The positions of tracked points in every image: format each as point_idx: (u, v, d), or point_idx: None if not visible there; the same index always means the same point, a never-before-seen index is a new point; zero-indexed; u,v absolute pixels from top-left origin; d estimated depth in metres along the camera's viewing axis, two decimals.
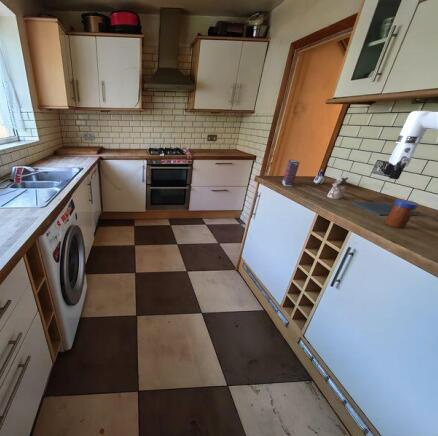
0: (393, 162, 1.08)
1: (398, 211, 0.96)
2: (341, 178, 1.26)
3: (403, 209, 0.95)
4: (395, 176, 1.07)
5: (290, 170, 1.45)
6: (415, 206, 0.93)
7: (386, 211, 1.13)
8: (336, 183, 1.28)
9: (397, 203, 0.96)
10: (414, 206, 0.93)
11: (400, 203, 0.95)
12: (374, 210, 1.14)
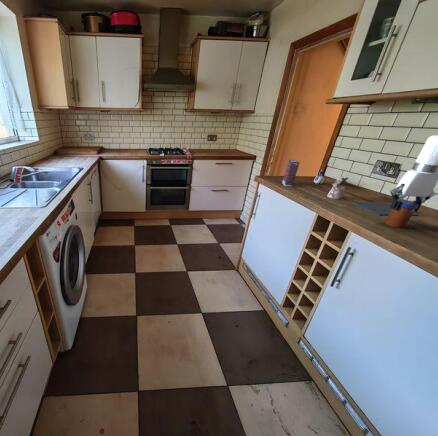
0: (423, 194, 0.92)
1: (398, 211, 0.96)
2: (341, 178, 1.26)
3: (403, 209, 0.95)
4: None
5: (290, 170, 1.45)
6: (415, 206, 0.93)
7: (386, 211, 1.13)
8: (336, 183, 1.28)
9: None
10: (414, 206, 0.93)
11: None
12: (374, 210, 1.14)
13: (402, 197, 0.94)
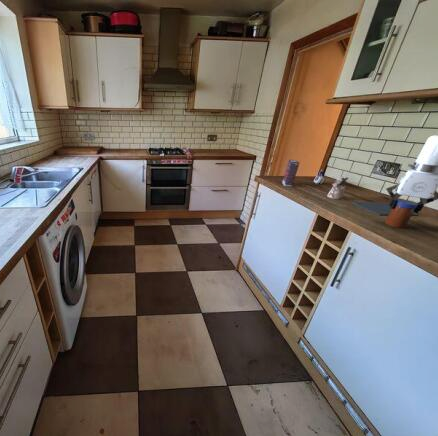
0: None
1: (398, 211, 0.96)
2: (341, 178, 1.26)
3: (403, 209, 0.95)
4: (389, 204, 0.99)
5: (290, 170, 1.45)
6: None
7: (386, 211, 1.13)
8: (336, 183, 1.28)
9: None
10: None
11: None
12: (374, 210, 1.14)
13: None
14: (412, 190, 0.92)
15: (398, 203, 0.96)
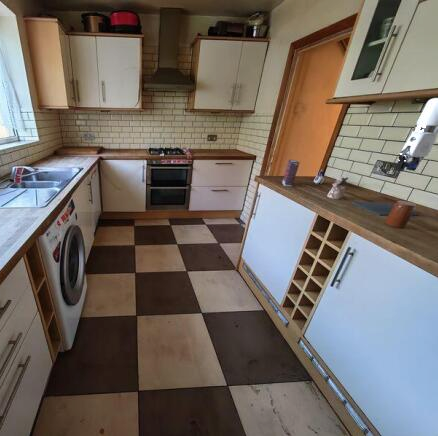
0: None
1: (398, 211, 0.96)
2: (341, 178, 1.26)
3: (403, 209, 0.95)
4: (398, 167, 1.05)
5: (290, 170, 1.45)
6: None
7: (386, 211, 1.13)
8: (336, 183, 1.28)
9: None
10: None
11: None
12: (374, 210, 1.14)
13: None
14: (421, 151, 1.00)
15: (408, 165, 1.03)
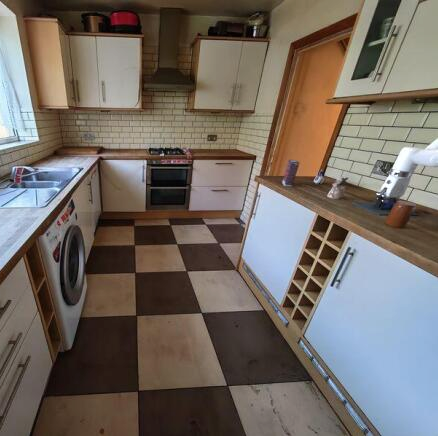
0: None
1: (398, 211, 0.96)
2: (341, 178, 1.26)
3: (403, 209, 0.95)
4: (377, 206, 1.15)
5: (290, 170, 1.45)
6: None
7: (386, 211, 1.13)
8: (336, 183, 1.28)
9: None
10: None
11: None
12: (374, 210, 1.14)
13: None
14: (396, 192, 1.10)
15: (385, 204, 1.14)
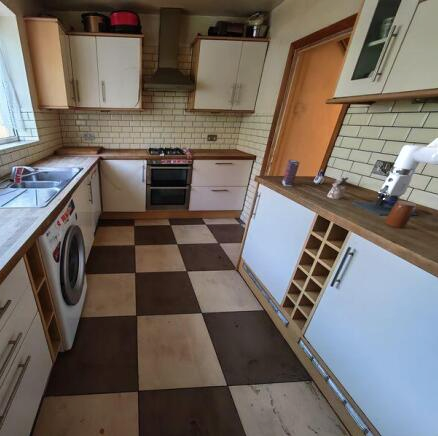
0: None
1: (398, 211, 0.96)
2: (341, 178, 1.26)
3: (403, 209, 0.95)
4: (378, 204, 1.15)
5: (290, 170, 1.45)
6: None
7: (386, 211, 1.13)
8: (336, 183, 1.28)
9: None
10: None
11: None
12: (374, 210, 1.14)
13: None
14: (398, 190, 1.10)
15: (386, 202, 1.13)
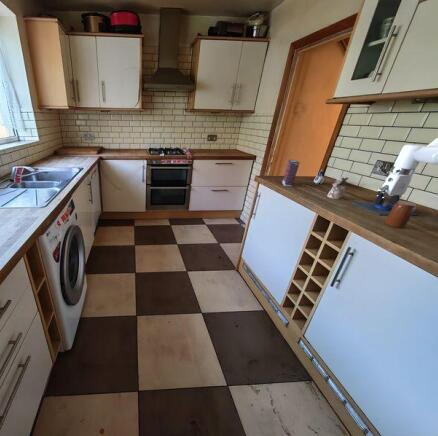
0: None
1: (398, 211, 0.96)
2: (341, 178, 1.26)
3: (403, 209, 0.95)
4: (377, 202, 1.14)
5: (290, 170, 1.45)
6: None
7: (386, 211, 1.13)
8: (336, 183, 1.28)
9: None
10: None
11: None
12: (374, 210, 1.14)
13: None
14: (398, 190, 1.10)
15: (383, 208, 1.14)
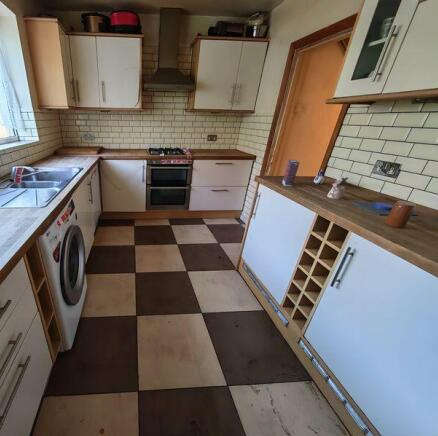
0: None
1: (398, 211, 0.96)
2: (341, 178, 1.26)
3: (403, 209, 0.95)
4: None
5: (290, 170, 1.45)
6: None
7: (386, 211, 1.13)
8: (336, 183, 1.28)
9: None
10: None
11: None
12: (374, 210, 1.14)
13: None
14: None
15: (383, 208, 1.14)
